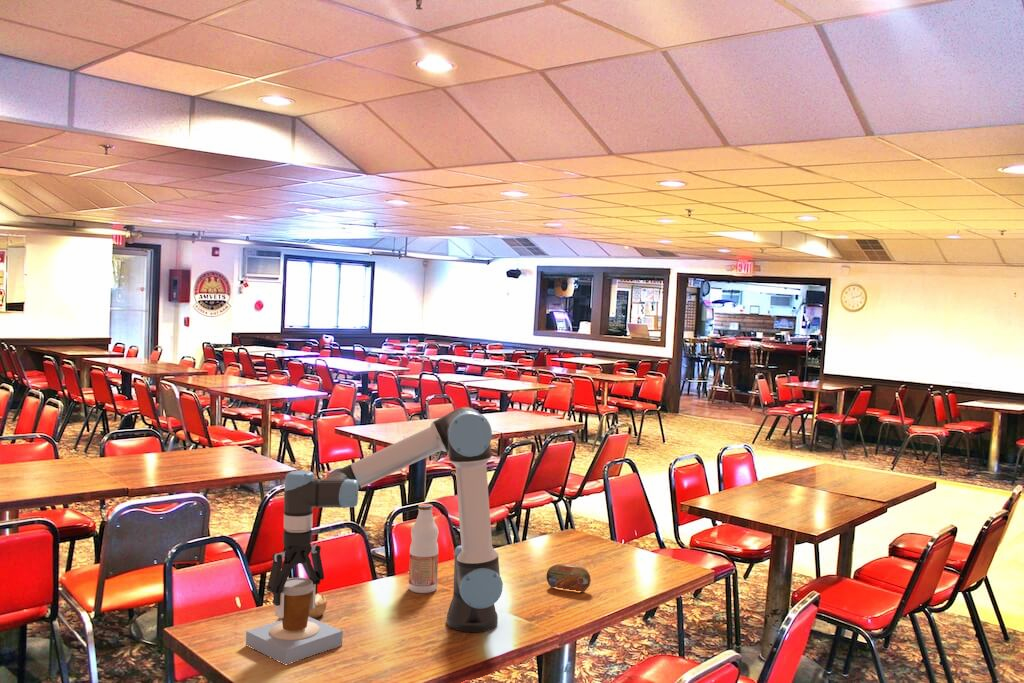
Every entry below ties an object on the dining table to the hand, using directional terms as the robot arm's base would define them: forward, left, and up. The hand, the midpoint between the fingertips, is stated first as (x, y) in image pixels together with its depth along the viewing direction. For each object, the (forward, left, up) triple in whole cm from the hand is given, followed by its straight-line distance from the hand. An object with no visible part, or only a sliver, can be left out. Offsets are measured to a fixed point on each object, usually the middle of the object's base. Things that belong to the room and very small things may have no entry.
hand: (295, 611), depth 216 cm
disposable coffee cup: (0, 0, -4) cm, 4 cm away
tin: (-26, -91, -9) cm, 95 cm away
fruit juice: (+9, -57, -9) cm, 58 cm away
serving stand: (0, 0, -9) cm, 9 cm away
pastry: (+17, -16, -10) cm, 25 cm away
